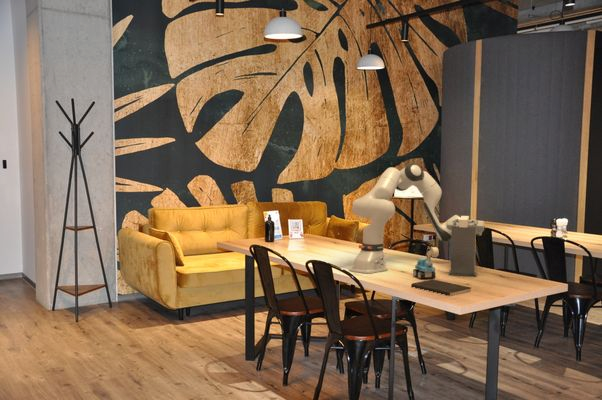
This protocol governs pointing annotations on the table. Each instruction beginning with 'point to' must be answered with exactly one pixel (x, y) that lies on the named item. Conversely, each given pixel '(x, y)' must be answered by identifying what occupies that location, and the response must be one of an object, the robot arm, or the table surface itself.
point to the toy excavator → (426, 265)
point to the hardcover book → (441, 287)
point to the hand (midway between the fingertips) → (464, 219)
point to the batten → (464, 221)
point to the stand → (463, 251)
